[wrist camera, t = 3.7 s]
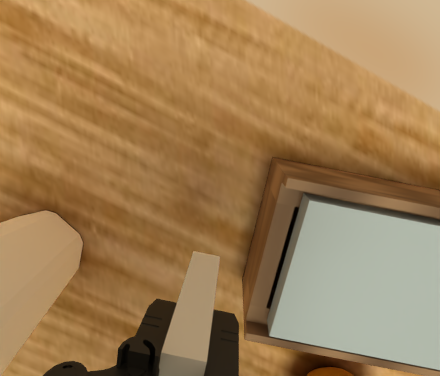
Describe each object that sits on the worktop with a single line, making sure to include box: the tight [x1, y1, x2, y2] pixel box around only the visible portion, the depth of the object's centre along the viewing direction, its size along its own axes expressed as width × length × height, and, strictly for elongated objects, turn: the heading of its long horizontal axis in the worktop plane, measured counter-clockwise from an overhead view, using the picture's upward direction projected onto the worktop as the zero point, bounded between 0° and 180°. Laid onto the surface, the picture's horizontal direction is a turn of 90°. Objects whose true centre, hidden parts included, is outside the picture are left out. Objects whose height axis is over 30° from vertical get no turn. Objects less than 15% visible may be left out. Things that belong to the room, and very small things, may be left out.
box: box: [242, 157, 440, 376], centre depth 21 cm, size 18×12×7 cm, turn 79°
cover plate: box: [267, 193, 440, 370], centre depth 18 cm, size 16×10×2 cm, turn 79°
